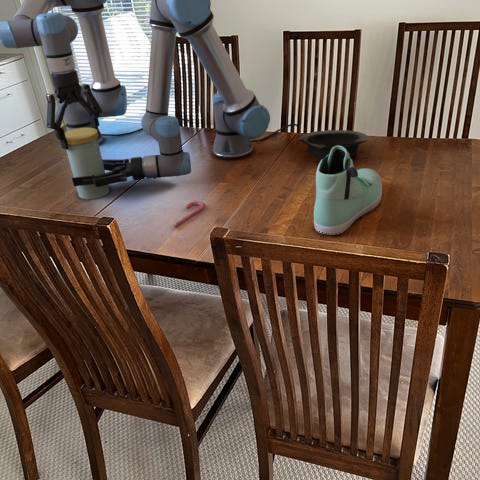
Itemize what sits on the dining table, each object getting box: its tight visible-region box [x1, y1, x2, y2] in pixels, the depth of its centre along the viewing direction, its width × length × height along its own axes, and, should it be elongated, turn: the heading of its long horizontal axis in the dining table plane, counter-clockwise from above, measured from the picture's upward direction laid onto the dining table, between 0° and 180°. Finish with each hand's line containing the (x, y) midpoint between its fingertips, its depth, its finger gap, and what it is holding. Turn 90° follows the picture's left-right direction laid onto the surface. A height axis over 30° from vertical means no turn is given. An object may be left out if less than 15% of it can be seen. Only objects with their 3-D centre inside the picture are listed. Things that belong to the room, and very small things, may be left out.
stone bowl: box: [297, 129, 371, 164], centre depth 171 cm, size 25×25×9 cm
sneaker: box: [313, 146, 383, 236], centre depth 133 cm, size 14×35×20 cm, turn 152°
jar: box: [65, 139, 110, 200], centre depth 156 cm, size 10×10×18 cm
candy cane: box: [173, 200, 207, 229], centre depth 142 cm, size 6×15×2 cm, turn 145°
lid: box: [64, 128, 98, 145], centre depth 151 cm, size 11×11×2 cm
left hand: (81, 142), depth 152 cm, fingers closed on lid, 11 cm apart
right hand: (76, 175), depth 157 cm, fingers closed on jar, 10 cm apart
